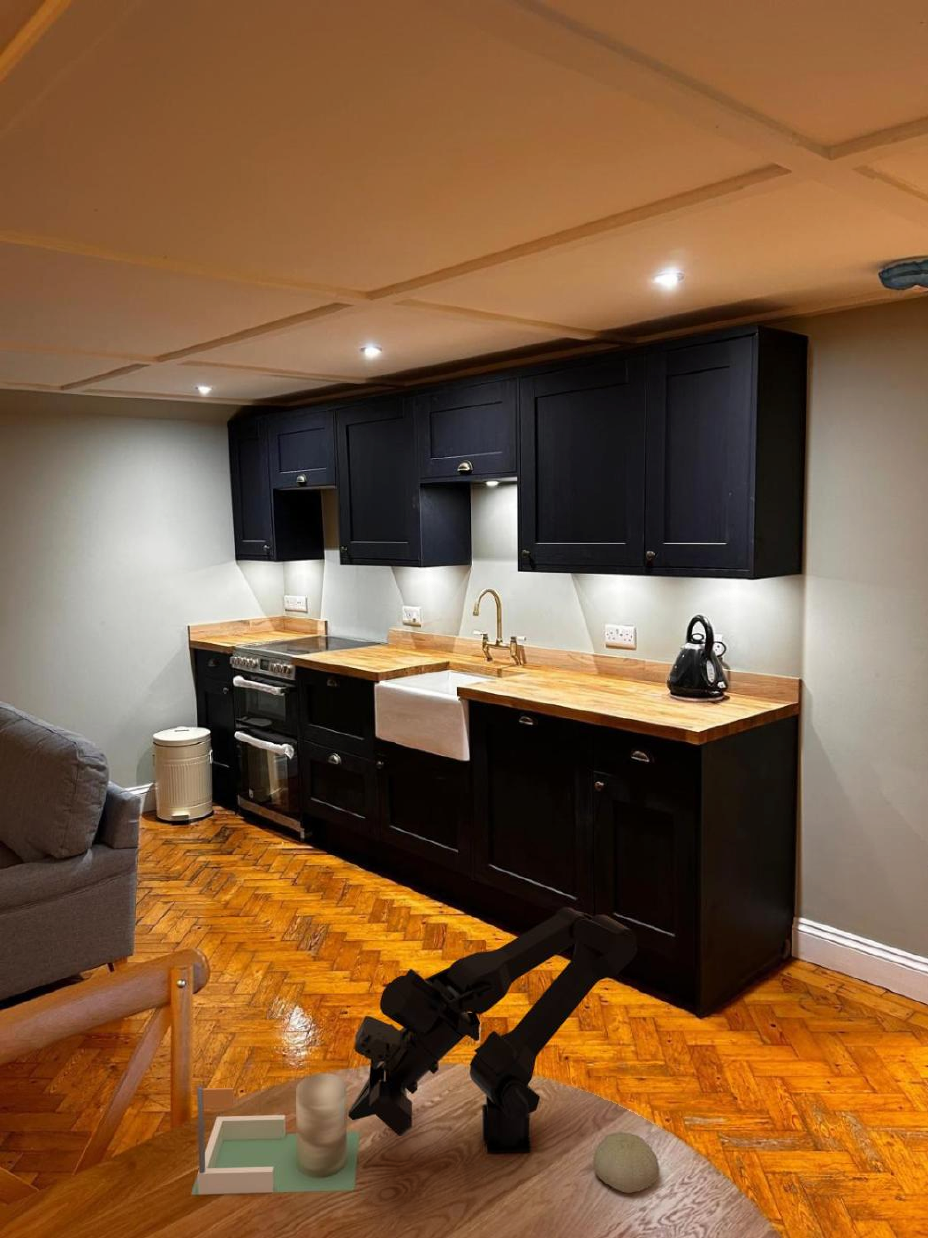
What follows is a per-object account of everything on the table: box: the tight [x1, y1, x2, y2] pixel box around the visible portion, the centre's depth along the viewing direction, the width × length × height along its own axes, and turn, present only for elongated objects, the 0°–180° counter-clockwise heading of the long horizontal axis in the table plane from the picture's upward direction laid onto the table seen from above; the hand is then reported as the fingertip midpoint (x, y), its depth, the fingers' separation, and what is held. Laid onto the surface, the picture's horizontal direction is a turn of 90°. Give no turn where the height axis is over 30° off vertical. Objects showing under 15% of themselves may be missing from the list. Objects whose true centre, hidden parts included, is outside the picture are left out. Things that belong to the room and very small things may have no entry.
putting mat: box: [190, 1131, 361, 1196], centre depth 132 cm, size 22×12×1 cm, turn 93°
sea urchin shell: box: [592, 1131, 660, 1194], centre depth 131 cm, size 9×8×8 cm
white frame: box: [196, 1085, 287, 1195], centre depth 130 cm, size 10×12×15 cm
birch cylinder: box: [295, 1072, 348, 1178], centre depth 131 cm, size 7×7×11 cm
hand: (350, 1116), depth 131 cm, fingers closed
